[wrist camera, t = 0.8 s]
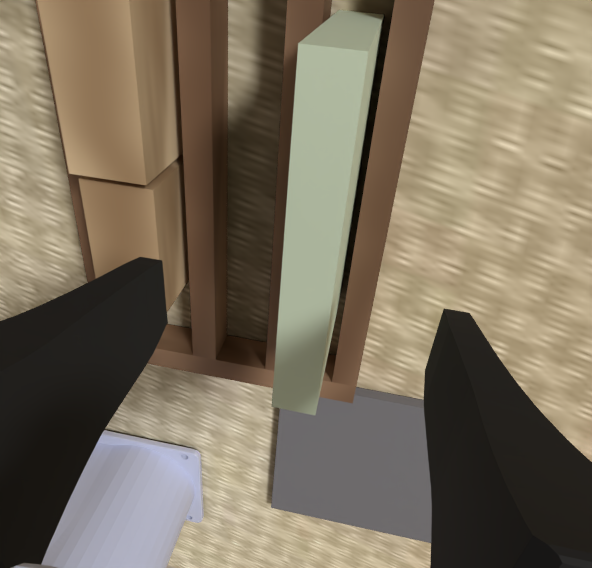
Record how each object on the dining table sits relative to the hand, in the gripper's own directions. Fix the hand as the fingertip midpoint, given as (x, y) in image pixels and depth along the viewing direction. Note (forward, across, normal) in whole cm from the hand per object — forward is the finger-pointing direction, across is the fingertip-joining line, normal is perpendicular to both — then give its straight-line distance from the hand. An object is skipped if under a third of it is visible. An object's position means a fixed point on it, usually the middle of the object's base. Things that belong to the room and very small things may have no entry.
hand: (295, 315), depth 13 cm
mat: (+10, -5, +18) cm, 21 cm away
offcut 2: (+10, +8, +3) cm, 13 cm away
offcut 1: (+10, +8, -3) cm, 13 cm away
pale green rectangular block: (+10, 0, 0) cm, 10 cm away
